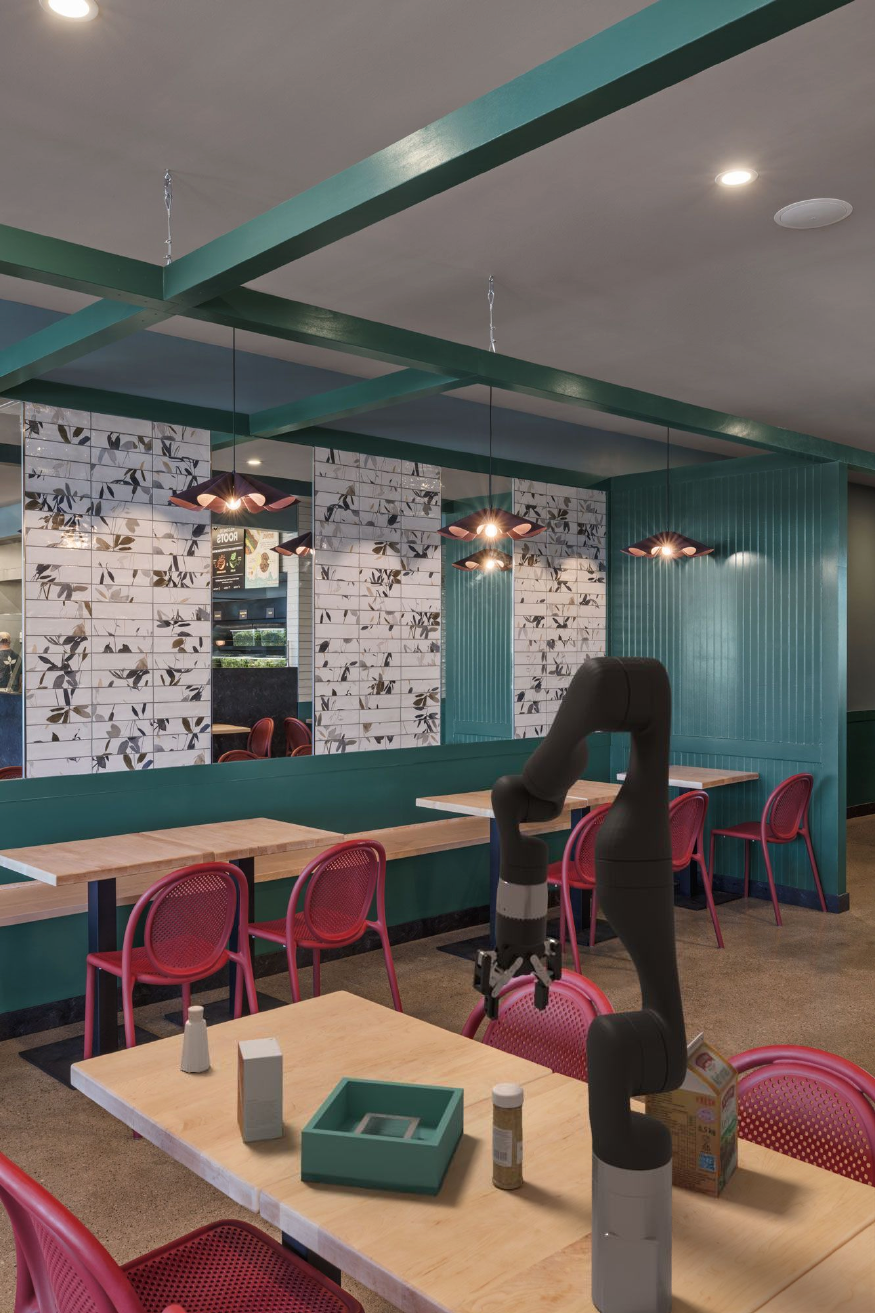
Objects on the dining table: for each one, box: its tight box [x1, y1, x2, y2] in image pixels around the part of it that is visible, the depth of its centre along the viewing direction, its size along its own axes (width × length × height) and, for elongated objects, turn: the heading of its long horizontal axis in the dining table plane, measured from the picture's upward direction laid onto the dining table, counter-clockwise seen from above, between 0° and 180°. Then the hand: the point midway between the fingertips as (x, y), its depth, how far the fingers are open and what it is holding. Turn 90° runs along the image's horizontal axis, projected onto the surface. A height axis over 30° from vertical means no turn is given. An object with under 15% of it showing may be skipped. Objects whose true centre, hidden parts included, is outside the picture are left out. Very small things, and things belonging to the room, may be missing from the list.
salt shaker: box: [179, 1005, 211, 1074], centre depth 187 cm, size 5×5×11 cm
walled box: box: [300, 1076, 465, 1197], centre depth 154 cm, size 20×20×7 cm
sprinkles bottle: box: [491, 1082, 525, 1190], centre depth 146 cm, size 5×5×13 cm
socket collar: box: [354, 1113, 421, 1140], centre depth 154 cm, size 9×9×3 cm
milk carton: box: [644, 1031, 739, 1199], centre depth 149 cm, size 10×11×19 cm
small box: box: [236, 1037, 284, 1143], centre depth 162 cm, size 8×6×13 cm
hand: (516, 1013), depth 152 cm, fingers open, 8 cm apart
